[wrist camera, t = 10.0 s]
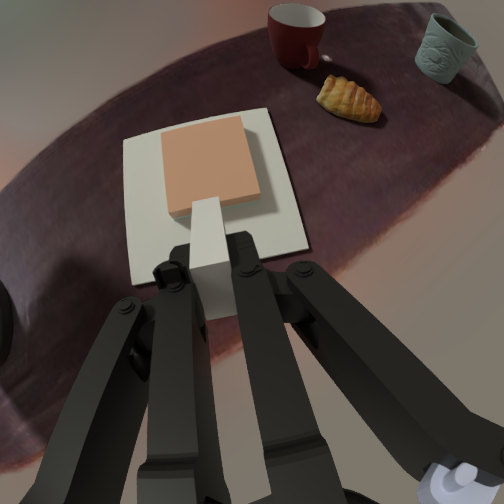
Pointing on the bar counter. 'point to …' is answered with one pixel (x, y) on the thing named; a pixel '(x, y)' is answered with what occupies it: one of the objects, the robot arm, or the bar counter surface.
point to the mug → (295, 34)
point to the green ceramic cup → (444, 49)
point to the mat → (235, 219)
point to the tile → (208, 166)
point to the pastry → (348, 100)
